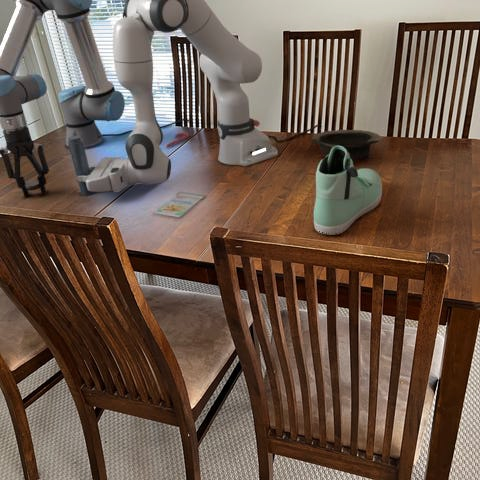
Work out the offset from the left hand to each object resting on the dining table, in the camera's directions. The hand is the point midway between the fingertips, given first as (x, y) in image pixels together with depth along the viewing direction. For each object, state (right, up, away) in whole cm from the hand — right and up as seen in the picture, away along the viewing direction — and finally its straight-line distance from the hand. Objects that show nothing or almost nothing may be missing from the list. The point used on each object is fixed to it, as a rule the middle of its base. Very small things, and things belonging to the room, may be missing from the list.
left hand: (35, 194), depth 163 cm
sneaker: (+101, -6, -24) cm, 104 cm away
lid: (0, +3, -2) cm, 4 cm away
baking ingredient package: (+51, -5, -14) cm, 53 cm away
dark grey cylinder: (+18, +1, -1) cm, 18 cm away
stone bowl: (+107, +15, +10) cm, 109 cm away
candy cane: (+43, +25, +36) cm, 62 cm away
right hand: (+17, +6, -4) cm, 19 cm away
